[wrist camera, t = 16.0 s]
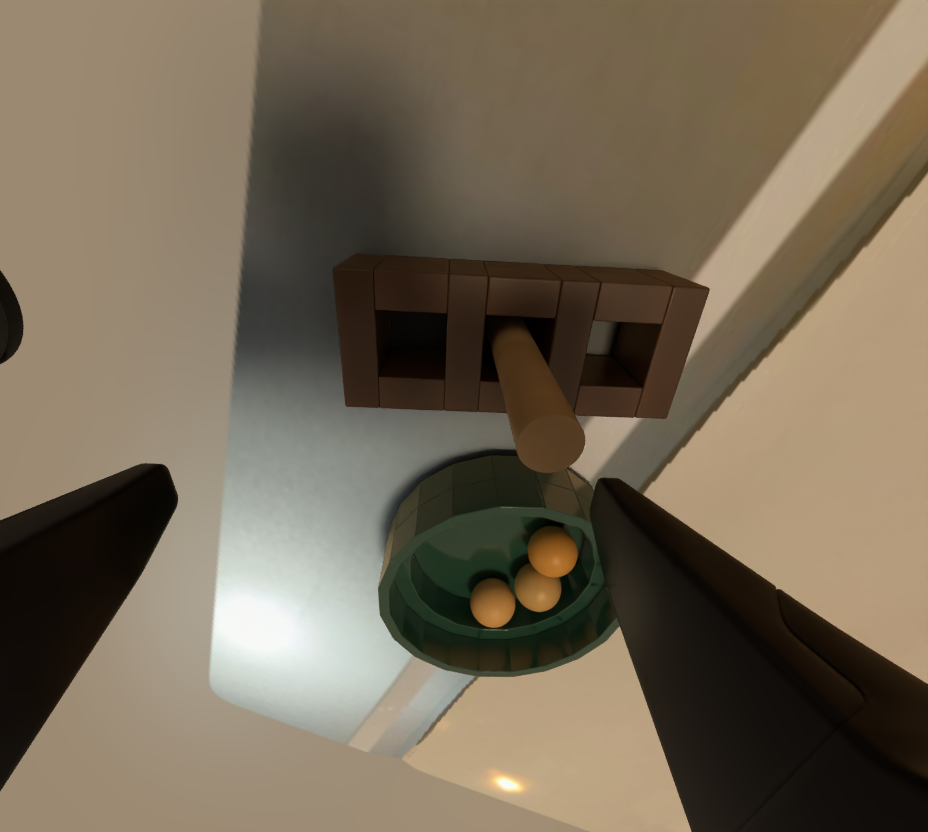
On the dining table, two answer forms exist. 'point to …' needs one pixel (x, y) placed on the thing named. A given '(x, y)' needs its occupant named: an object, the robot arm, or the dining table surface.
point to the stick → (533, 399)
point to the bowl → (491, 569)
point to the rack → (520, 295)
